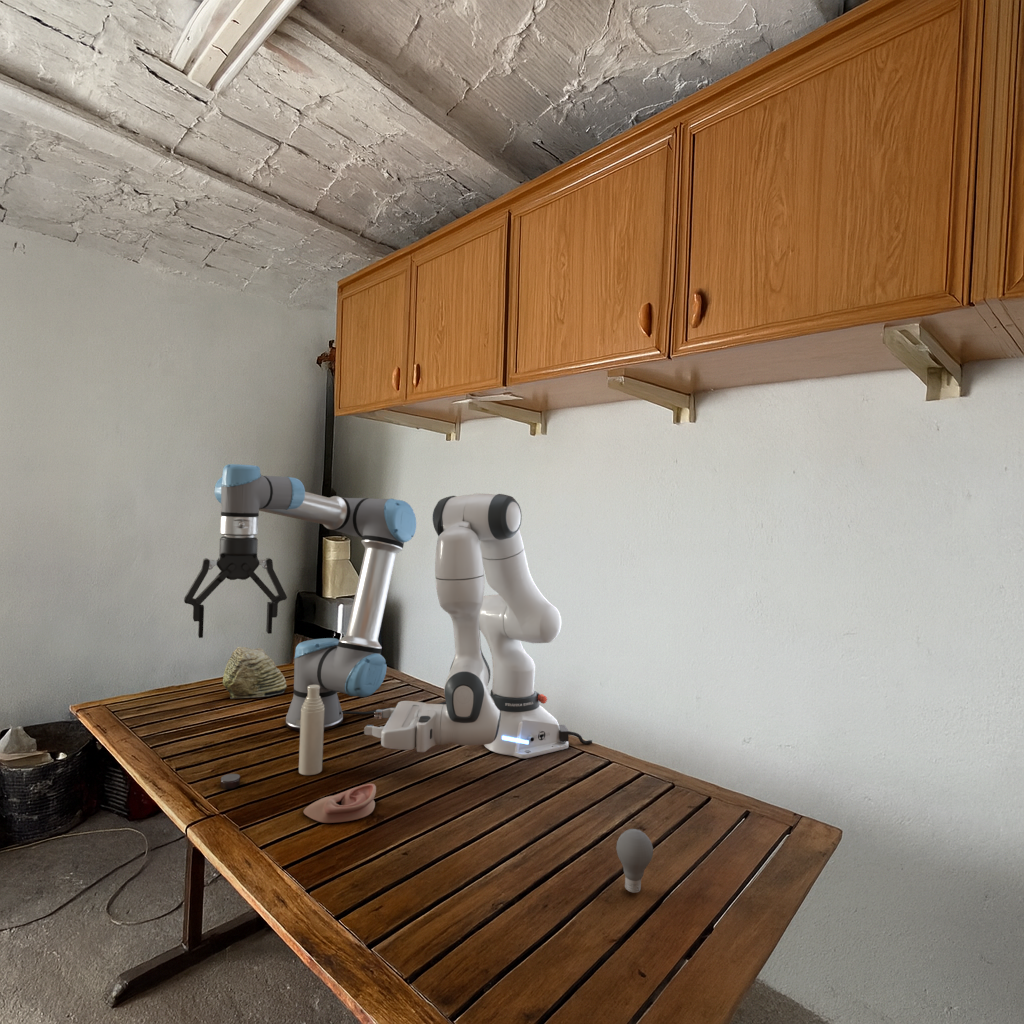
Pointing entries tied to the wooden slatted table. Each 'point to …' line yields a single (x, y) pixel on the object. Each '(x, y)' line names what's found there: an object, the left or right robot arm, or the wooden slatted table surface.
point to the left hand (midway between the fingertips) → (235, 634)
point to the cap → (230, 781)
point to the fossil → (252, 674)
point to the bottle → (311, 733)
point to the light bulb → (634, 857)
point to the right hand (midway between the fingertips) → (370, 721)
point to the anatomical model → (343, 805)
